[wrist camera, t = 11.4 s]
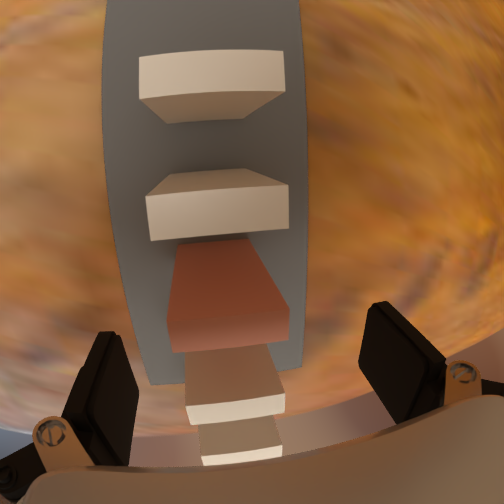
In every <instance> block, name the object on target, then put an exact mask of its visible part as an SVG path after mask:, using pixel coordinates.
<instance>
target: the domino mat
mask: <svg viewBox="0 0 504 504" xmlns="http://www.w3.org/2000/svg"><path fill="white" fill-rule="evenodd" d="M203 50H274V51H283V55H284V72H285V92H284V93H282V94H281V95H279V96H277V97H276V98H274V99H272V100H271V101H269V102H268V103H266V104H265V105H263V106H261V107H260V108H258V109H257V110H255V111H254V112H252V113H251V114H249V115H248V116H246V117H245V118H243V119H223V120H206V121H193V122H181V123H171V124H167V123H165V122H164V121H163V120H162V119H161V118H160V117H159V116H158V115H157V114H155V113H154V112H153V111H152V110H151V109H150V108H149V107H148V106H146V105H145V104H144V103H143V102H142V101H141V100H140V99H139V57H143V56H150V55H158V54H166V53H176V52H187V51H203ZM102 130H103V148H104V161H105V173H106V183H107V192H108V200H109V208H110V215H111V222H112V229H113V235H114V241H115V247H116V252H117V258H118V263H119V268H120V273H121V278H122V283H123V287H124V292H125V296H126V300H127V304H128V309H129V313H130V317H131V321H132V324H133V328H134V332H135V336H136V339H137V343H138V346H139V350H140V353H141V356H142V360H143V363H144V366H145V369H146V372H147V376H148V379H149V382H150V385H164V384H180V383H185V352H179V353H173V352H172V347H171V342H170V338H169V333H168V328H167V323H166V320H167V312H168V305H169V298H170V291H171V284H172V277H173V271H174V265H175V259H176V253H177V247H178V245H180V244H192V243H203V242H215V241H227V240H240V239H249V240H250V242H251V244H252V245H253V247H254V249H255V250H256V252H257V254H258V255H259V257H260V259H261V261H262V262H263V264H264V266H265V267H266V269H267V271H268V272H269V274H270V276H271V278H272V279H273V281H274V283H275V284H276V286H277V288H278V290H279V291H280V293H281V295H282V296H283V298H284V300H285V301H286V303H287V305H288V307H289V308H290V315H289V340H285V341H278V342H272V343H266V344H267V347H268V349H269V352H270V354H271V357H272V360H273V362H274V365H275V368H276V370H277V372H278V371H284V370H290V369H295V368H300V367H302V355H303V341H304V325H305V306H306V283H307V253H308V140H307V110H306V89H305V71H304V56H303V43H302V31H301V19H300V9H299V0H107V8H106V17H105V28H104V40H103V57H102ZM239 168H246V169H248V170H251V171H254V172H256V173H259V174H261V175H264V176H267V177H269V178H272V179H274V180H277V181H279V182H282V183H284V184H287V185H288V189H289V229H277V230H264V231H253V232H241V233H230V234H218V235H208V236H197V237H186V238H176V239H166V240H156V241H151V239H150V232H149V224H148V216H147V207H146V198H145V196H146V195H147V194H148V193H150V192H151V191H152V190H153V189H154V188H155V187H156V186H157V185H158V184H159V183H161V182H162V181H163V180H164V179H165V178H166V177H167V176H168V175H170V174H176V173H186V172H197V171H209V170H223V169H239Z"/></svg>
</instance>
